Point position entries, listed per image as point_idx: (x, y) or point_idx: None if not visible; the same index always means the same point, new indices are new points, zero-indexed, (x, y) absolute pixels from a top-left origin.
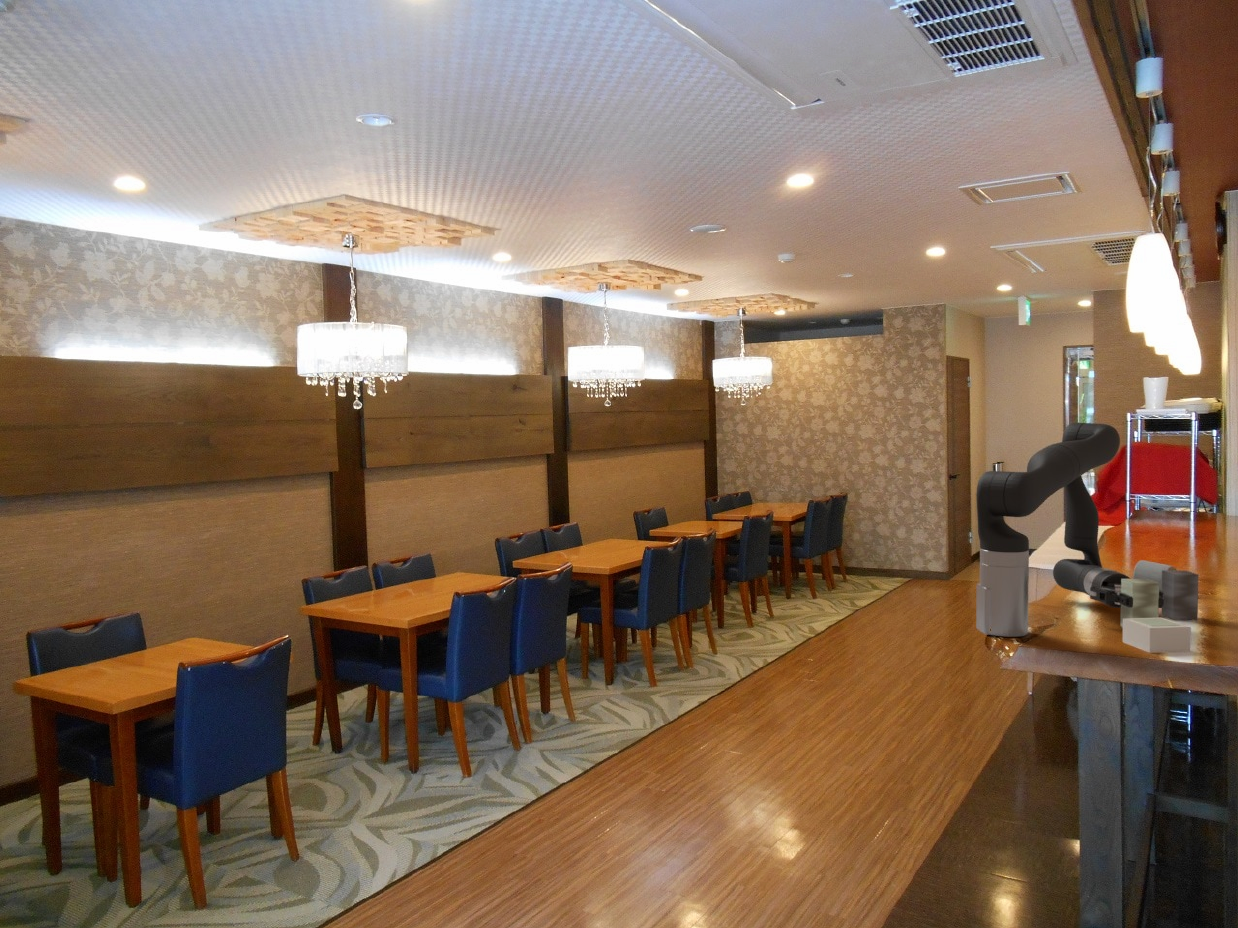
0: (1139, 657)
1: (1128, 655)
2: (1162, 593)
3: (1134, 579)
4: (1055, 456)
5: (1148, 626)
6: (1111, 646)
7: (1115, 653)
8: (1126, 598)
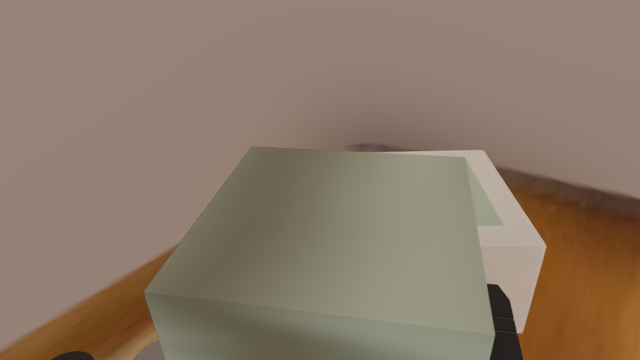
0: (522, 194)
1: (550, 207)
2: (75, 356)
3: (339, 272)
4: None
5: (478, 161)
6: (588, 283)
7: (588, 222)
8: (489, 286)
